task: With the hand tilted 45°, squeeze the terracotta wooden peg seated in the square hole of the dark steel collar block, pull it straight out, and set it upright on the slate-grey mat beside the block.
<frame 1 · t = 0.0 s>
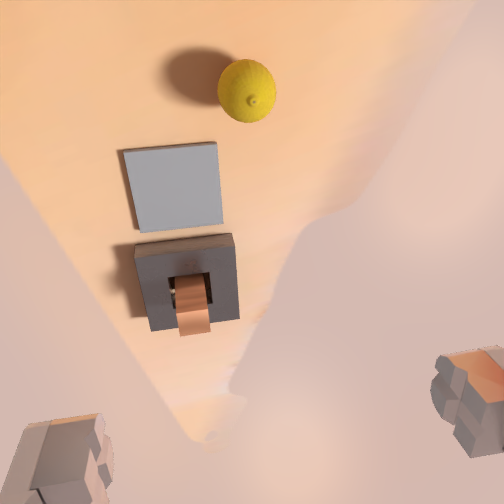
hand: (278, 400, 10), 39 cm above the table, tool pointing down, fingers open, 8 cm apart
mat: (176, 187, 48), on the table
peg: (191, 298, 52), in the collar block
lemon: (240, 82, 43), on the table
collar block: (189, 276, 55), on the table
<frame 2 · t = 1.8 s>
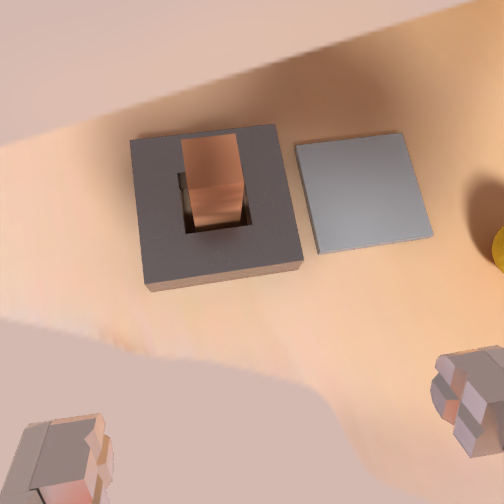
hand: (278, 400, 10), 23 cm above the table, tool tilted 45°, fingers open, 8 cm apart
mat: (360, 193, 37), on the table
peg: (213, 190, 31), in the collar block
lemon: (502, 261, 36), on the table
collar block: (215, 212, 35), on the table
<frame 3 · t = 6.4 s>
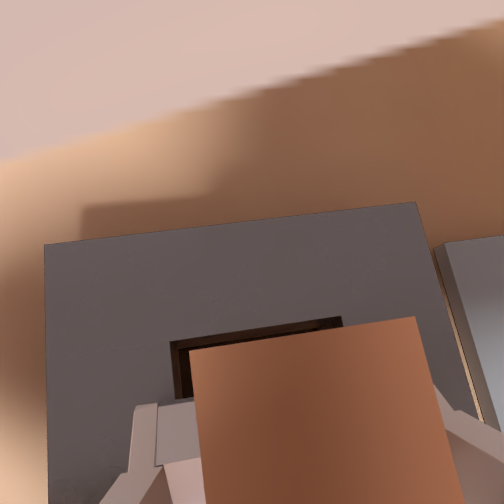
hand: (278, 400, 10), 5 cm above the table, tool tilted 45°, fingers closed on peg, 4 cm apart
peg: (280, 426, 10), in the collar block, touching gripper
collar block: (260, 412, 14), on the table
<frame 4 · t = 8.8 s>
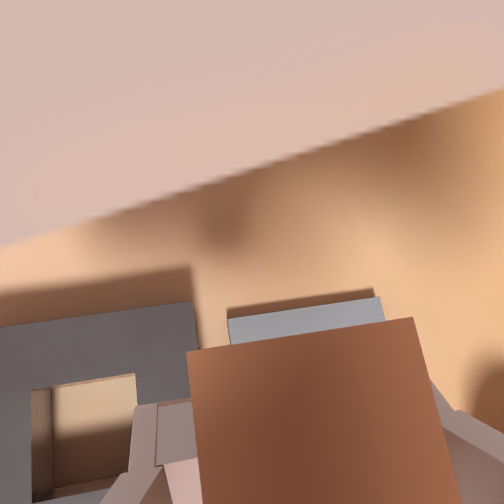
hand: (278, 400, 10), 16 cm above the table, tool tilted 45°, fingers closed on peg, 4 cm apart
mat: (318, 389, 26), on the table
peg: (279, 427, 10), point 16 cm above the table, touching gripper
collar block: (100, 428, 24), on the table
when the fingers open (7 cm above the table, at t = 11.3 s): peg drops 1 cm, resting on mat.
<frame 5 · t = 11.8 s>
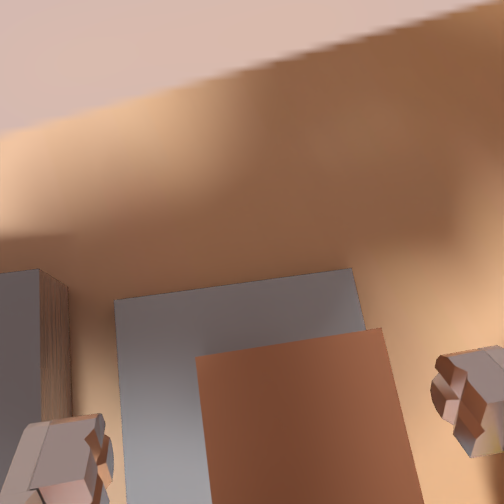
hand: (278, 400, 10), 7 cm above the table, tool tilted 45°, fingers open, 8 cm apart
mat: (254, 408, 17), on the table
peg: (274, 421, 12), on the mat, point 5 cm above the table
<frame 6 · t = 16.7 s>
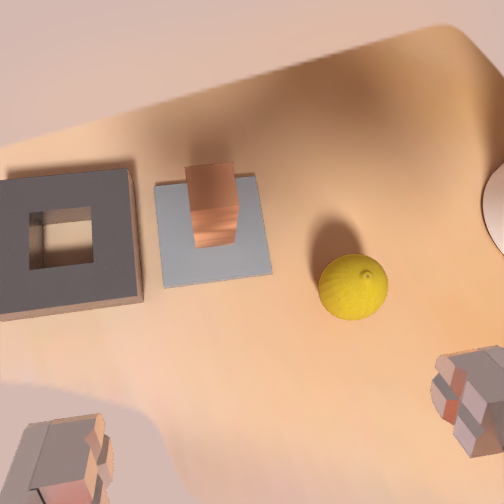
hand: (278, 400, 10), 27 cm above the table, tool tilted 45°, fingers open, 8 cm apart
mat: (212, 231, 40), on the table
peg: (212, 209, 35), on the mat, point 5 cm above the table
lemon: (337, 296, 39), on the table
collar block: (72, 247, 38), on the table
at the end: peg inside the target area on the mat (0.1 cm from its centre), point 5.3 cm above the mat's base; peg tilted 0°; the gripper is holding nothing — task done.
